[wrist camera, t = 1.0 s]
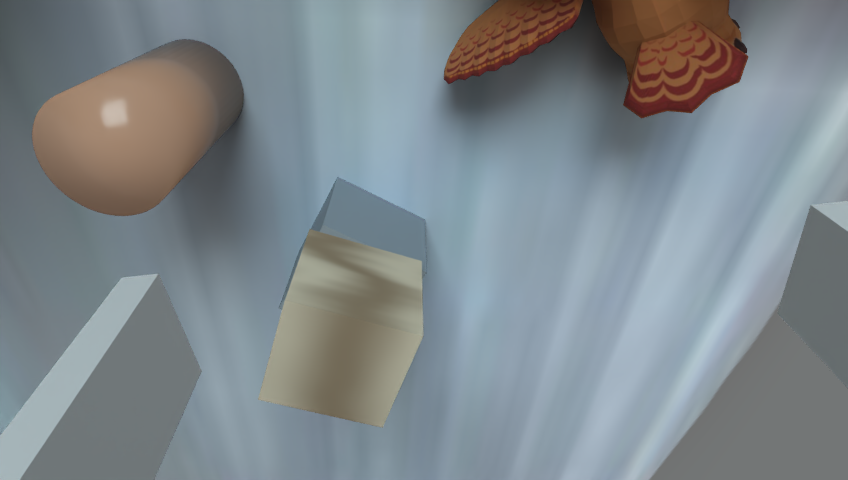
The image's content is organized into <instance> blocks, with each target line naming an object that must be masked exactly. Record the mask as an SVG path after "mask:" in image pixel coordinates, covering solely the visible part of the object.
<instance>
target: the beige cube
mask: <svg viewBox="0 0 848 480" xmlns="http://www.w3.org/2000/svg"><path fill="white" fill-rule="evenodd" d="M422 338H423V297H422V261H420V260H416V259H413V258H409V257H406V256H402V255H399V254H395V253H392V252H388V251H385V250H381V249H378V248H374V247H371V246H367V245H364V244H360V243H357V242H353V241H350V240H346V239H343V238H339V237H336V236H332V235H329V234H325V233H322V232H318V231H315V230H311V229H310V230H309V232H308V235H307V238H306V241H305V244H304V247H303V250H302V252H301V255H300V258H299V261H298V264H297V267H296V270H295V273H294V275H293V278H292V281H291V284H290V287H289V290H288V293H287V295H286V298H285V301H284V305H283V309H282V313H281V316H280V320H279V324H278V327H277V331H276V335H275V339H274V342H273V346H272V350H271V353H270V357H269V361H268V365H267V368H266V372H265V376H264V379H263V383H262V387H261V391H260V394H259V398H258V400H262V401H266V402H271V403H275V404H280V405H284V406H289V407H293V408H297V409H302V410H306V411H311V412H315V413H320V414H324V415H329V416H333V417H338V418H342V419H347V420H351V421H355V422H360V423H364V424H369V425H373V426H378V427H382V428H383V425H384V423H385V421H386V419H387V416H388V414H389V412H390V410H391V407H392V405H393V403H394V401H395V398H396V396H397V394H398V392H399V389H400V387H401V385H402V383H403V381H404V378H405V376H406V374H407V372H408V369H409V367H410V365H411V363H412V360H413V358H414V356H415V354H416V351H417V349H418V347H419V345H420V342H421V340H422Z"/></svg>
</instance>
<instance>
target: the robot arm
mask: <svg viewBox="0 0 848 480" xmlns="http://www.w3.org/2000/svg"><path fill="white" fill-rule="evenodd" d="M778 315H779V316H780V317H781V318H782V319H783V320H784V321H785V322H786V323H787V324H788V325H789V326H790V327H791V328H792V330H793V331H795V333H796V334H797V335H798V336H799V337H800V338H801V339H802V340H803V341H804V342H805V343H806V345H807V346H808V347H809V348H810V349H811V350H812V351H813V352H814V353H815V354H816V355H817V356H818V357H819V358H820V359H821V361H822V362H823V363H824V364H825V365H826V366H827V367H828V368H829V369H830V370H831V371H832V372H833V373H834V374H835V375H836V377H837V378H838V379H839V380H840V381H841V382H842V383H843V384H844V385H845V386H846V387H847V388H848V201H843V202H834V203H825V204H815V205H811V206H810V209H809V212H808V216H807V219H806V222H805V225H804V229H803V232H802V235H801V238H800V241H799V245H798V248H797V251H796V254H795V258H794V261H793V264H792V267H791V270H790V274H789V277H788V280H787V283H786V287H785V290H784V293H783V296H782V299H781V303H780V306H779V309H778ZM201 372H202V371H201V369H200V366H199V364H198V362H197V360H196V357H195V355H194V353H193V351H192V348H191V346H190V344H189V341H188V339H187V337H186V335H185V332H184V330H183V328H182V326H181V323H180V321H179V319H178V317H177V314H176V312H175V310H174V307H173V305H172V303H171V301H170V298H169V296H168V294H167V292H166V289H165V287H164V285H163V283H162V280H161V278H160V276H159V274H151V275H141V276H132V277H122V278H121V279H120V280H119V282H118V283H117V284H116V286H115V287H114V288H113V290H112V291H111V292H110V293H109V295H108V296H107V297H106V299H105V300H104V301H103V303H102V304H101V305H100V306H99V308H98V309H97V310H96V312H95V313H94V314H93V316H92V317H91V318H90V319H89V321H88V322H87V323H86V325H85V326H84V327H83V329H82V330H81V331H80V333H79V334H78V335H77V336H76V338H75V339H74V340H73V342H72V343H71V344H70V346H69V347H68V348H67V349H66V351H65V352H64V353H63V355H62V356H61V357H60V359H59V360H58V361H57V362H56V364H55V365H54V366H53V368H52V369H51V370H50V372H49V373H48V374H47V375H46V377H45V378H44V379H43V381H42V382H41V383H40V385H39V386H38V387H37V388H36V390H35V391H34V392H33V394H32V395H31V396H30V398H29V399H28V400H27V402H26V403H25V404H24V405H23V407H22V408H21V409H20V411H19V412H18V413H17V415H16V416H15V417H14V418H13V420H12V421H11V422H10V424H9V425H8V426H7V428H6V429H5V430H4V431H3V433H2V434H1V435H0V480H154V479H155V477H156V474H157V472H158V470H159V468H160V465H161V463H162V461H163V458H164V456H165V454H166V452H167V449H168V447H169V445H170V442H171V440H172V438H173V436H174V433H175V431H176V429H177V426H178V424H179V422H180V420H181V417H182V415H183V413H184V410H185V408H186V406H187V404H188V401H189V399H190V397H191V394H192V392H193V390H194V388H195V385H196V383H197V381H198V378H199V376H200V374H201Z"/></svg>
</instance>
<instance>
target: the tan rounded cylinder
mask: <svg viewBox="0 0 848 480" xmlns="http://www.w3.org/2000/svg"><path fill="white" fill-rule="evenodd" d="M243 100H244V94H243V87H242V83H241V80H240V77H239V75H238V73H237V71H236V69H235V68H234V66H233V65H232V64H231V62H230V61H229V60H228V59H227V58H226V57H225V56H224V55H223V54H222V53H220V52H219V51H218V50H216V49H215V48H213V47H211V46H210V45H207V44H205V43H202V42H199V41H195V40H187V39H182V40H175V41H171V42H169V43H166V44H164V45H162V46H160V47H158V48H156V49H153V50H151V51H149V52H147V53H145V54H143V55H141V56H139V57H136V58H134V59H132V60H130V61H128V62H126V63H124V64H121V65H119V66H117V67H115V68H113V69H111V70H109V71H106V72H104V73H102V74H100V75H98V76H96V77H94V78H91V79H89V80H87V81H85V82H83V83H81V84H79V85H76V86H74V87H72V88H70V89H68V90H66V91H64V92H62V93H59V94H57V95H55V96H54V97H52V98H51V99H49V100H48V101H47V102H46V103H45V104H43V106H42V107H41V108H40V110H39V111H38V113H37V115H36V117H35V120H34V124H33V130H32V140H33V146H34V151H35V154H36V157H37V159H38V161H39V163H40V165H41V167H42V169H43V170H44V172H45V174H46V175H47V176H48V178H49V179H50V180H51V181H52V182H53V184H54V185H55V186H56V187H57V188H58V189H59V190H61V191H62V192H63V193H64V194H65V195H66V196H68V197H69V198H71V199H72V200H74V201H75V202H77V203H79V204H80V205H82V206H84V207H86V208H89V209H91V210H94V211H97V212H100V213H104V214H108V215H115V216H129V215H136V214H140V213H143V212H146V211H148V210H150V209H152V208H154V207H155V206H156V205H158V204H159V203H160V202H161V201H162V200H163V199H164V198H165V197H166V196H167V195H168V193H169V192H170V191H171V190H172V189H173V188H174V187H175V186H176V185H177V184H178V183H179V182H180V180H181V179H182V178H183V177H184V176H185V175H186V174H187V173H188V172H189V171H190V170H191V169H192V168H193V166H194V165H195V164H196V163H197V162H198V161H199V160H200V159H201V158H202V157H203V156H204V155H205V154H206V152H207V151H208V150H209V149H210V148H211V147H212V146H213V145H214V144H215V143H216V142H217V141H218V139H219V138H220V137H221V136H222V135H223V134H224V133H225V132H226V131H227V130H228V129H229V128H230V127H231V125H232V124H233V123H234V122H235V121H236V120H237V118H238V117H239V115H240V113H241V110H242V107H243Z"/></svg>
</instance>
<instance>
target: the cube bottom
mask: <svg viewBox="0 0 848 480" xmlns="http://www.w3.org/2000/svg"><path fill="white" fill-rule="evenodd" d="M311 230H315V231H318V232H322V233H325V234H329V235H332V236H336V237H339V238H343V239H346V240H350V241H353V242H357V243H360V244H364V245H367V246H371V247H374V248H378V249H381V250H385V251H388V252H392V253H395V254H399V255H402V256H406V257H409V258H413V259H416V260H420V261H422V279H423V277H424V276H425V274H426V273H427V263H426V234H425V219H423V218H421V217H419V216H417V215H415V214H413V213H411V212H409V211H407V210H405V209H402V208H400V207H398V206H396V205H394V204H392V203H390V202H388V201H386V200H384V199H382V198H380V197H378V196H376V195H374V194H372V193H370V192H368V191H366V190H364V189H362V188H359V187H357V186H355V185H353V184H351V183H349V182H347V181H345V180H343V179H341V178H339V177H337V179H336V181H335V183H334V185H333V187H332V189H331V191H330V193H329V195H328V197H327V199H326V201H325V203H324V204H323V206H322V208H321V210H320V212H319V214H318V216H317V218H316V220H315V222H314V224H313V226H312V228H311ZM306 238H307V237H306ZM305 241H306V239H305ZM305 241H304V243H303V245H302V247H301V249H300V251H299V253H298V256H297V259H296V262H295V264H294V267H293V270H292V273H291V276H290V278H289V281H288V284H287V287H286V290H285V292H284V295H283V298H282V301H281V304H280V306H279V309H283V305H284V301H285V298H286V295H287V293H288V290H289V287H290V284H291V281H292V278H293V275H294V273H295V270H296V267H297V264H298V261H299V258H300V255H301V252H302V250H303V247H304V244H305Z"/></svg>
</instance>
